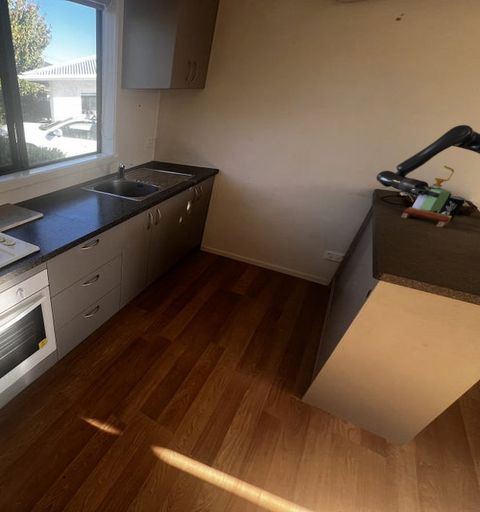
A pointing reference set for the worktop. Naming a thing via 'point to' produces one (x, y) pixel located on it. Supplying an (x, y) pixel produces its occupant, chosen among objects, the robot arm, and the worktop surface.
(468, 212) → the bolt
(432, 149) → the robot arm
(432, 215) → the rod rack
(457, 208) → the beverage can
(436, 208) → the green bar
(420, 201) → the soap bottle
